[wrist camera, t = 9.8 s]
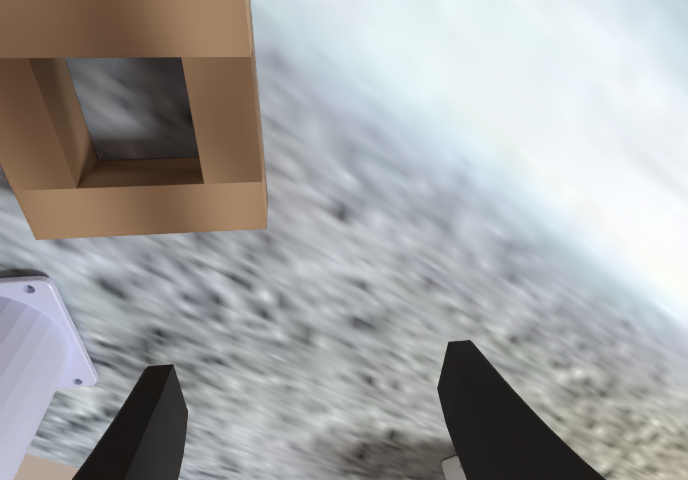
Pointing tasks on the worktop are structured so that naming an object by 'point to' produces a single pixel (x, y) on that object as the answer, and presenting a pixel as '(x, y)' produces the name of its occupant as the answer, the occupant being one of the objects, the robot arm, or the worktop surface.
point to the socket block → (142, 174)
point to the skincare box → (453, 469)
